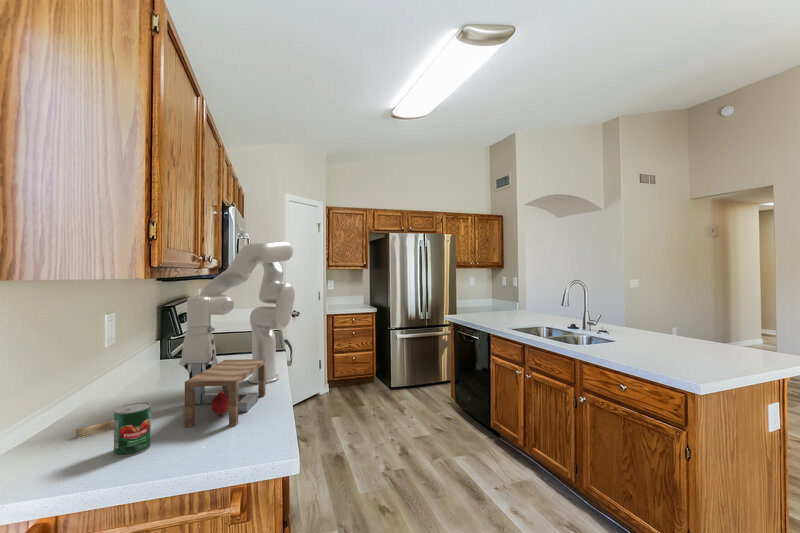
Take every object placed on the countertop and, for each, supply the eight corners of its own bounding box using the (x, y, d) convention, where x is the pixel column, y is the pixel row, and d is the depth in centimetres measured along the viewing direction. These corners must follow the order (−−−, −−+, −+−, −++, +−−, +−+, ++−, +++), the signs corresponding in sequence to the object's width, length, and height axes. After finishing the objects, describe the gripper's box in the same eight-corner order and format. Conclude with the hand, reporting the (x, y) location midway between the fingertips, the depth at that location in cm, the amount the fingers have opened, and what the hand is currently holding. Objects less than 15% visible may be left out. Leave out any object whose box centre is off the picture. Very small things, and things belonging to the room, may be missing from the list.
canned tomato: (134, 441, 102) (135, 401, 103) (158, 444, 100) (158, 403, 101) (105, 455, 95) (105, 411, 95) (129, 458, 93) (130, 414, 93)
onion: (223, 419, 118) (223, 393, 118) (207, 418, 119) (207, 392, 119) (234, 412, 123) (235, 388, 124) (219, 411, 125) (219, 387, 125)
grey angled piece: (196, 401, 134) (196, 351, 135) (258, 400, 135) (258, 350, 136) (178, 413, 123) (179, 358, 123) (246, 411, 124) (247, 357, 124)
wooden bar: (134, 422, 117) (134, 414, 117) (136, 423, 116) (137, 416, 116) (76, 437, 106) (76, 429, 106) (78, 439, 104) (78, 431, 105)
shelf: (224, 395, 141) (225, 359, 141) (265, 395, 142) (265, 359, 142) (184, 427, 112) (184, 381, 112) (235, 425, 113) (235, 380, 113)
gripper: (226, 329, 138) (226, 379, 137) (181, 329, 137) (180, 380, 136) (217, 332, 130) (217, 385, 130) (169, 332, 129) (168, 386, 129)
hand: (198, 382), depth 133 cm, fingers closed on grey angled piece, 3 cm apart
